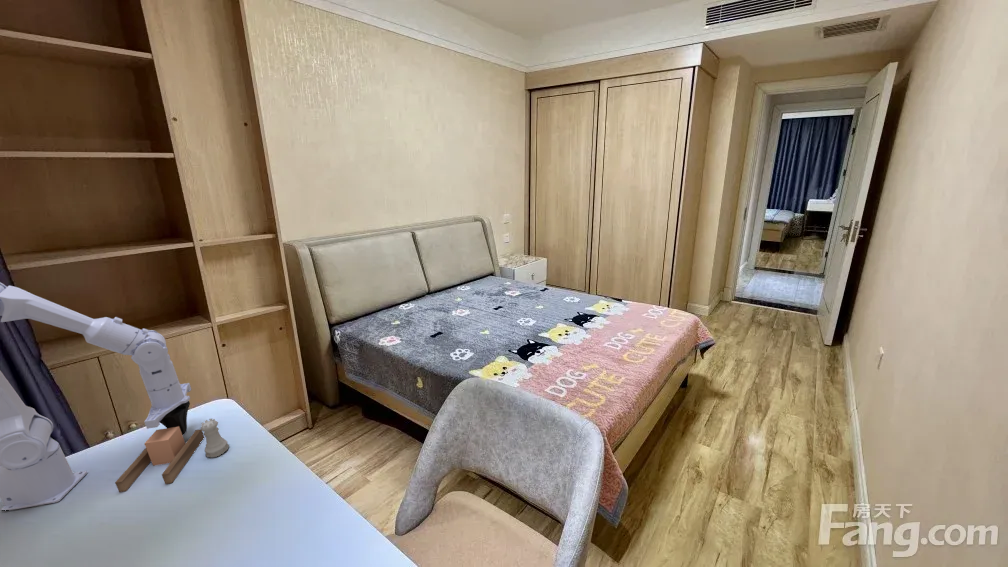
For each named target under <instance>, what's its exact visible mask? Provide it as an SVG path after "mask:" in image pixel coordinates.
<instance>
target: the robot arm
mask: <svg viewBox="0 0 1008 567" xmlns="http://www.w3.org/2000/svg"><path fill="white" fill-rule="evenodd" d="M0 316H1V319H0V323H5V322H6V323H7V322H12V321H18V320H25V319H26V320H27V319H29V320H32V321H36V322H40V323H43V324H46V325H51V326H53V327H56V328H60V329H64V330H67V331H69V332H74V333H76V334H77V333H78V334H81V335H82V336H83V338H84V339H85V342H86V343H87V344H91V345H93V346H96V347H99V348H102V349H106V350H108V351H111V352H114V353H117V354H120V355H123V356H129V357H130V356H131V357H130V359H131V360H132V362H134V363H135V364H136V365H137V366H138V368H139V375H140V377H141V380H142V382H143V386H144V387H145V390H146V393H147V396H148V398H149V401H150V408H149V412H148V415H147V417H146V419H145V420H144V421H143V422H144V424H145V425H144V426H145V427H146V429H147V430H148V429H154V428H155V429H156V428H158V427H159V426H160V425H161V424H162V425H163V426H164V427H165V429H166V428H172V427H180V430H181V433H182V435H183V436H185V434H186V433H187V430H188V426H187V424H188V410H189V407H190V404H191V403H190V400H191V396H190V395H188V393H189V392H191V391H192V387H191V384H190V382H187V383H186V382H185V383H180V380H179V377H178V375H177V372H176V368H175V366H174V362H173V360H171V356H170V354H169V348H168V347H167V340H166V338H165V337H164V335H162V334H161V333H159V332H158V331H157V330H152V329H151V330H150V329H147V328H142V329H140V328H138V327H136V326H133V325H130V324H126V323H125V322H123V318H120V317H118V316H115V317H114V318H111V317H107V316H104V317H99V318H92V317H89V316H88V315H85V314H82V313H79V312H77V311H75V310H72V309H70V308H67V307H66V306H62V305H61V304H58V303H55V302H53V301H51V300H48V299H46V298H43V297H41V296H38V295H35V293H34V294H33V293H31V292H28V291H27V290H25V289H22V288H20V287H17V286H13V285H8V286H7V285H5V284H4V283H2V282H0ZM53 431H54V423H53V422H52V420H51V419H49V418H48V417H47V416H46V417H45V416H43V415H41V414H39V413H38V412H37V411H36V409H35V408H33V407H31V406H28V405H26V404H25V403H24V401H23V400H22V399H21V397H20V396H19V394H18V392H16V390H15V388H14V387H13V386H12V385H11V383H10V382H9V380H8V379H7V378H6V376H5V375H4V373H3V372H2V370H0V500H1V502H2V504H3V505H4V506H2V508H1V509H0V510H5V511H4V512H7V511H6V510H9V511H14V510H18V509H24V508H30V507H36V506H43V505H48V504H53V503H58V502H60V501H61V500H62V499H63V498H64V497H65V496H66V495H67V494H68V493H69V492H70V491H71V490H72V489H73V488H75V486H76V485H77V484H79V482H80V481H81V480H82V479H83V478H84V477H86V475H87V474H88V471H87V470H82V471H75V472H73V470H72V468H71V466H70V464H69V462H68V459H67V458H66V455H65V454H64V452H63V450H62V447H61V445H60V443H59V442H58V441H57V440H55V439H53V438H52V437H51V434H52V433H53Z"/></svg>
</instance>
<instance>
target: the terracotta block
mask: <svg viewBox="0 0 1008 567" xmlns="http://www.w3.org/2000/svg"><path fill="white" fill-rule="evenodd" d="M185 444H186V441H185V439H184V435H182V433H181V430H180V427H172V428H166V427H165V428H159V429H156V430H155V431H154V432H153V433H152V434H151V435H150V436H149V437H148V439H147V440H146V441H145V442H144V446H145V448H146V449H147V452H148V454H149V457H150V459H151V462H150V463H151V464H152V467H153V466H159V465H160V466H161V465H165V464H167V465H168V464H170V463H171V462H172V461H173V459H174V458H175V457H176V455H177V454H178V453H179V451H180V450H181V449H182V447H183V446H184V445H185Z"/></svg>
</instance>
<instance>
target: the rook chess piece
mask: <svg viewBox="0 0 1008 567" xmlns="http://www.w3.org/2000/svg"><path fill="white" fill-rule="evenodd" d="M218 425H219V422H218V421H216V420H215V418H209V420H208V419H206V420H204V422H202V423H201V426H200V428H199V430H201V431H202V432H203V435H204V438H205V440H206V441H205V442H206V444H205V448H204V452H205V456H206V457H208V458H210V459H211V458H212V459H213V458H218V457H220V456H222V455H224V454H225V453H226V452H227V450H229V446H230V444H228V441H227V440H226V439H225V438H224V437H223V436H222V435H221V434H220V431H219V430H220V428H219V427H218ZM225 451H226V452H225ZM224 452H225V453H224ZM223 453H224V454H223ZM221 454H222V455H221ZM217 456H218V457H217Z"/></svg>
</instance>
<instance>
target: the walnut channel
mask: <svg viewBox="0 0 1008 567" xmlns="http://www.w3.org/2000/svg"><path fill="white" fill-rule="evenodd" d="M203 438H204V439H205V435H204V431H201V430H200V429H196V430H194V432H193V433H192V435H191V436H190V437H189V438H188V440H187V441H185V445H184V446H183V447H182V449H181V450H180V451H179V453H178V454H177V455H176V457H175V458H174V459H173V461H172V462H171V463H168V466H166V468H165V469H164V471H163V472H162V473H161V476H162V479H163V482H164V484H165V485H170V484H173V483H174V481H175V480H176V478H177V477H178V475H179V474H180V473H181V471H182V470H183V468H184V467H185V465H186V464H187V463H188V461H190V459H191V457H192V456H193V455H192V454H195V452H196V450H197V449H198V448H199V446H200V445H201V443H202V442H203V441H204V439H203ZM202 440H203V441H202ZM201 441H202V442H201ZM200 442H201V443H200ZM199 444H200V445H199ZM197 447H198V448H197ZM196 448H197V449H196ZM194 451H195V452H194ZM151 463H152V462H151V459H150V457H149V454H148V452H147V449H146V447H145V448H144V449H143V450H142V452H141V453H140V454H139V455H138V456H137V457H136V458H135V459H134V460H133V461H132V463H131V464H130V465H129V466H128V467H127V469H126V470H124V472H123V473H122V474H121V475H120V476H119V478H118V479H117V480H116V481H115V483H114V484H115V486H116V488H117V490H118V492H119V493H122V492H127V491H128V490H129V489H130V487H131V486H132V485H133V484H134V483H135V481H136V480H137V479H138V478H139V477H140V475H142V473H143V472H144V470H145V469H146V468H147V467H148V466H149V465H150V464H151Z"/></svg>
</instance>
